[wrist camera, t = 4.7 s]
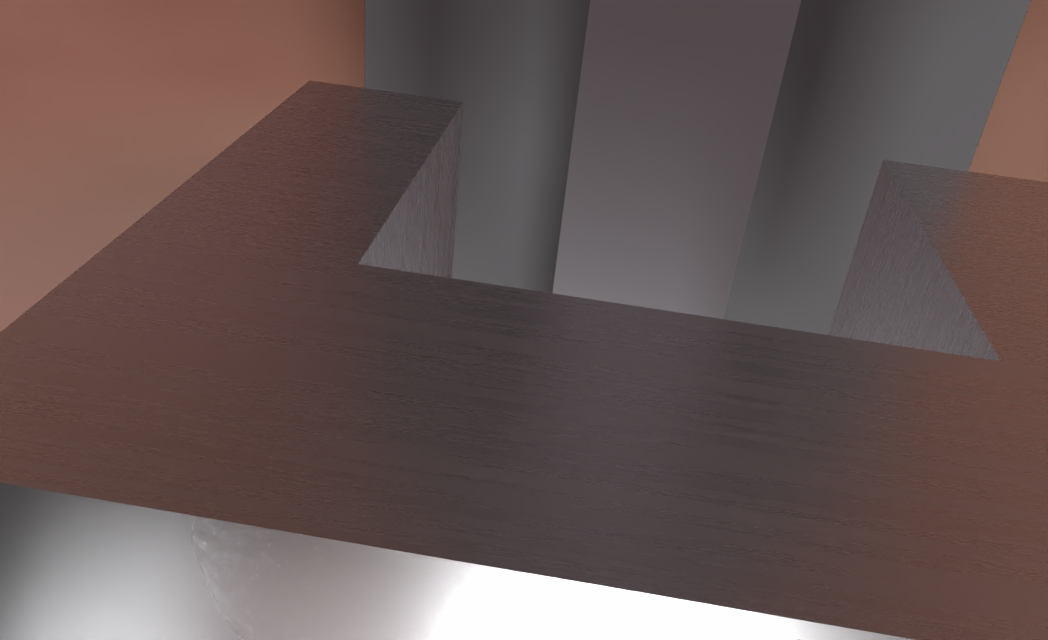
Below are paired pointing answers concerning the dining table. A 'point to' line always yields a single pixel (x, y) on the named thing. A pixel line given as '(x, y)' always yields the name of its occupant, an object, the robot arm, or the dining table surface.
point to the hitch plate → (689, 136)
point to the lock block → (515, 422)
